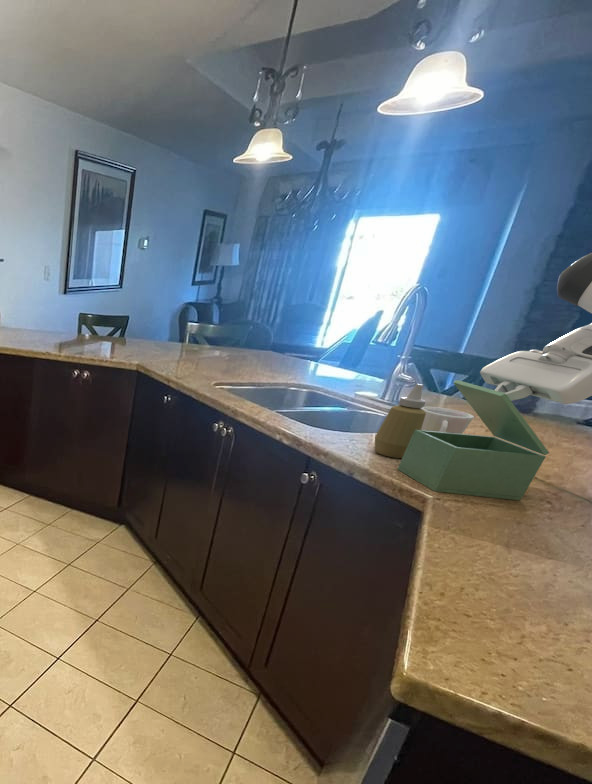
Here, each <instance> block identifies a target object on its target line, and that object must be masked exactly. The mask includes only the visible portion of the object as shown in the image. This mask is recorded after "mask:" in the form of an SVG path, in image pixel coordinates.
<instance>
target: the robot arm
mask: <svg viewBox="0 0 592 784" xmlns="http://www.w3.org/2000/svg"><path fill="white" fill-rule="evenodd" d="M556 293H557V297H558V298H560V299H562V300H564V301H566V302H568V303H569V304H571V305H574V306H575V307H580V308H582V309H583V310H585V311H586V312H587V313H590V314H591V315H592V252H590V253H588V254H586V255H584V256H582V257H580V258H579V259H577V260H576V261H574V262H572V263H571V264H570V265H569V266H568V267H566V268H565V269H564V270H563V271H562V272H561V273H560V274H559V276H558V279H557V285H556ZM479 374H480V376H481V378H482V379H483V381H484V382H485V383H486V384H489V385H492V386H496V388H495V389H494V390H495V391H498V392H502V393H505V394H506V395H507V396H508V398H509V399H510V400H511V402H514V401H517V400H521V399H525V398H527V397H529V396H534V397H537V398H539V399H544V400H547V401H552V402H556V403H559V404H563V405H570V404H575V403H579V402H581V401H584V400H586V399H588V398H590V397H592V322H591V323H589V324H587V325H584V326H580V327H578V328H576V329H574V330H572V331H570V332H569V333H567V334H565V335H563V336H561V337H559V338H557V339H556V340H554V341H552V342H550V343H548V344H547V345H545V346H543V349H542V350H540V349H530V350H519V351H516V352H512V353H510V354H507V355H506V356H503V357H502V358H499V359H496V360H495V361H493V362H491V363H489V364H487V365H485V366H483V367H482V368H481V370H480V371H479Z"/></svg>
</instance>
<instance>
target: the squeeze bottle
mask: <svg viewBox="0 0 592 784" xmlns="http://www.w3.org/2000/svg"><path fill="white" fill-rule="evenodd" d="M423 389H424V384H422V383H416V384H415V386H414V387H413V388H412V389H411V391H410V392H409V393H408V395H407V396H401V397H400V398H399V401H398V404H396V405H393V406H391V407H390V409H389V411H388V413H387V415H386V416H385V418H384V419H383V422H382V423H381V424H380V427H379V429H378V430H377V432H376V434H375V435H374V451H375V453H377V454H379V455H382V456H385V457H388V458H396V459H402V458H403V455H404V453H405V451H406V449H407V447H408V444H409V442H410V440H411V438H412V435H413V433H414V431H415V430H421V428H422V425H423V422H424V418H425V415H426V412H425V411H424V410H423V409H421V408H423V407H425V405H426V403H427V401H426V400H425V399H422V395H423Z"/></svg>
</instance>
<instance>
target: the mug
mask: <svg viewBox="0 0 592 784" xmlns="http://www.w3.org/2000/svg"><path fill="white" fill-rule="evenodd" d="M421 409H423V410H424V411H425V412H426V415H425V418H424V422H423V425H422V428H421V430H425V431H436V432H447V433H458V434H464V432H465V430H466V429H467V428H468V426H469V425H470V423H471V422H472V421H473V420H474V419H475V416H474V415H472V414H470V413H468V412H465V411H461V410H456V409H451V408H445V407H439V406H424V407H423V408H421Z"/></svg>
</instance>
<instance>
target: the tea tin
mask: <svg viewBox="0 0 592 784" xmlns="http://www.w3.org/2000/svg"><path fill="white" fill-rule="evenodd" d="M546 457H547V456H546V455H543V454H540V453H538V452H535V451H532V450H530V449H527V448H525V447H522V446H519V445H517V444H514V443H511V442H509V441H506V440H504V439H501V438H498V437H496V436H493V435H492V436H490V435H480V434H469V433H462V434H458V433H447V432H436V431H425V430H415V431H414V433H413V435H412V438H411V440H410V442H409V444H408V447H407V449H406V451H405V453H404V455H403V458H401V460H400V462H399V464H398V467H397V469H396V470H398V472H401V473H402V474H405V475H406V476H407V477H409V478H411V479H413V480H414V481H416V482H417V483H420V484H421V485H423V486H424V487H426V488H427V489H429V490H432V491H433V492H438V493H444V494H445V493H447V494H455V495H466V496H472V497H473V496H474V497H485V498H492V499H493V498H494V499H503V500H512V501H521V500H522V499H523V497H524V496H525V494H526V492H527V490H528V488H529V486H530V485H531V483H532V482H533V480H534V478H535V476H536V474H537V473H538V472H539V469H540V468H541V466H542V465H543V462H544V461H545V459H546Z"/></svg>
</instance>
